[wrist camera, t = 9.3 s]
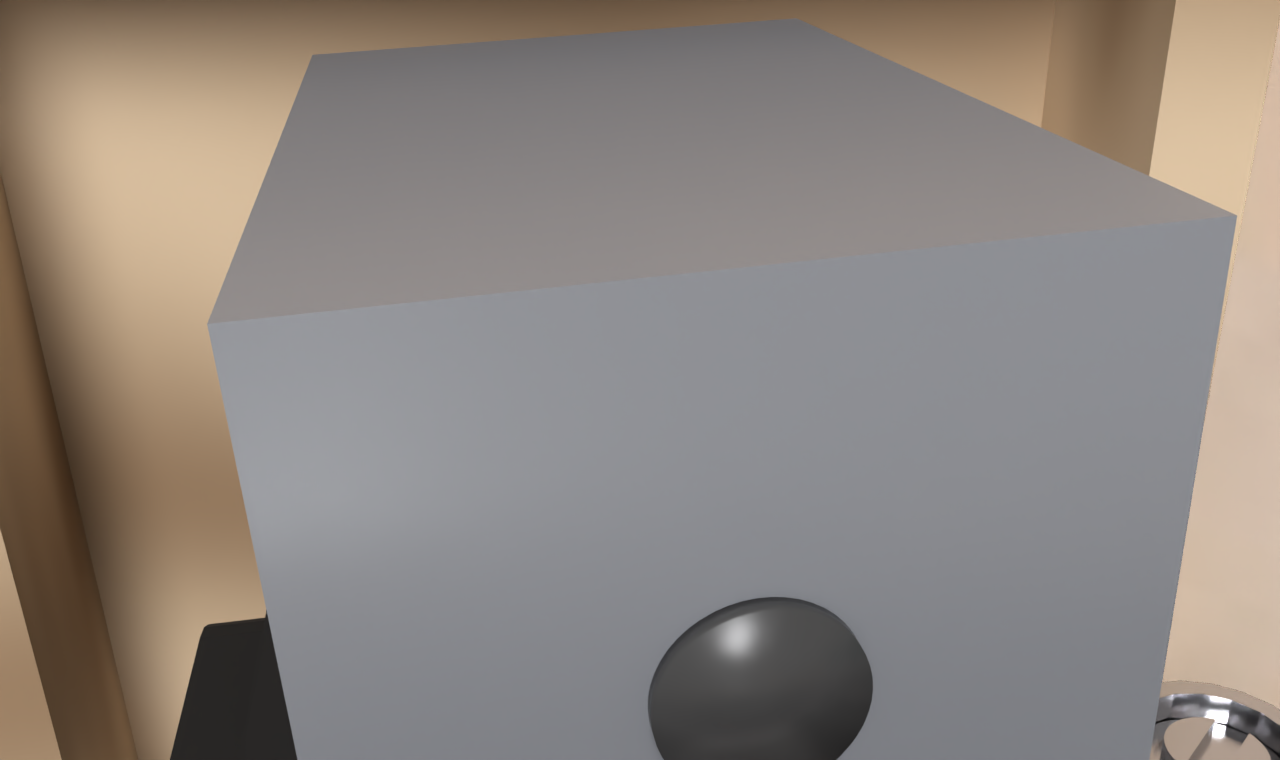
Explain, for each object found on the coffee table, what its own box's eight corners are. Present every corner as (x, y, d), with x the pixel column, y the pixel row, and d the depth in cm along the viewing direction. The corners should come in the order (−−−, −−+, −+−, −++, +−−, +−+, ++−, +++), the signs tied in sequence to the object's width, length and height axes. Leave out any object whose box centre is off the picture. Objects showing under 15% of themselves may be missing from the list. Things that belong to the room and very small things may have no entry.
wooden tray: (-390, -490, 9) (-705, -624, 7) (1249, -455, 12) (1507, -547, 9) (82, 1091, 17) (23, 1331, 14) (1035, 926, 19) (1142, 1106, 16)
